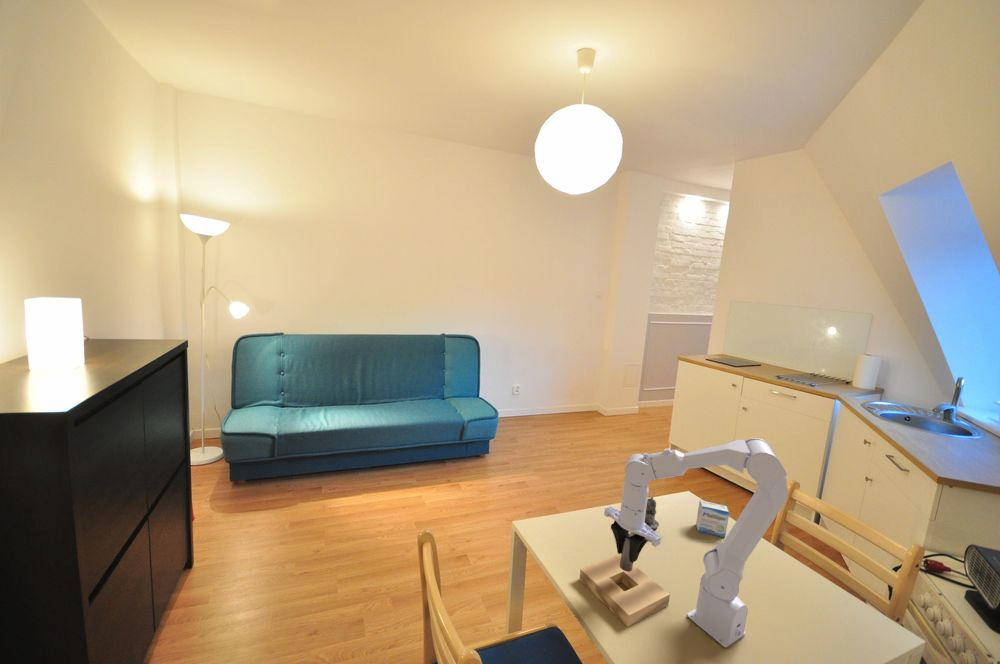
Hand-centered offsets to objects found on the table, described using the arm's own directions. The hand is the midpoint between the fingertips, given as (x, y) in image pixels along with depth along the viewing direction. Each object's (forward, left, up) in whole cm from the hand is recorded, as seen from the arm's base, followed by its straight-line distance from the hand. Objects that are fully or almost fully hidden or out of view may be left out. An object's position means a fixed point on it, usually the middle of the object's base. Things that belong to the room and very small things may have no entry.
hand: (627, 556), depth 101 cm
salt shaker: (+14, -26, -10) cm, 31 cm away
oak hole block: (0, 0, -10) cm, 10 cm away
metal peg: (0, 0, -3) cm, 3 cm away
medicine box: (+6, -46, -10) cm, 47 cm away
